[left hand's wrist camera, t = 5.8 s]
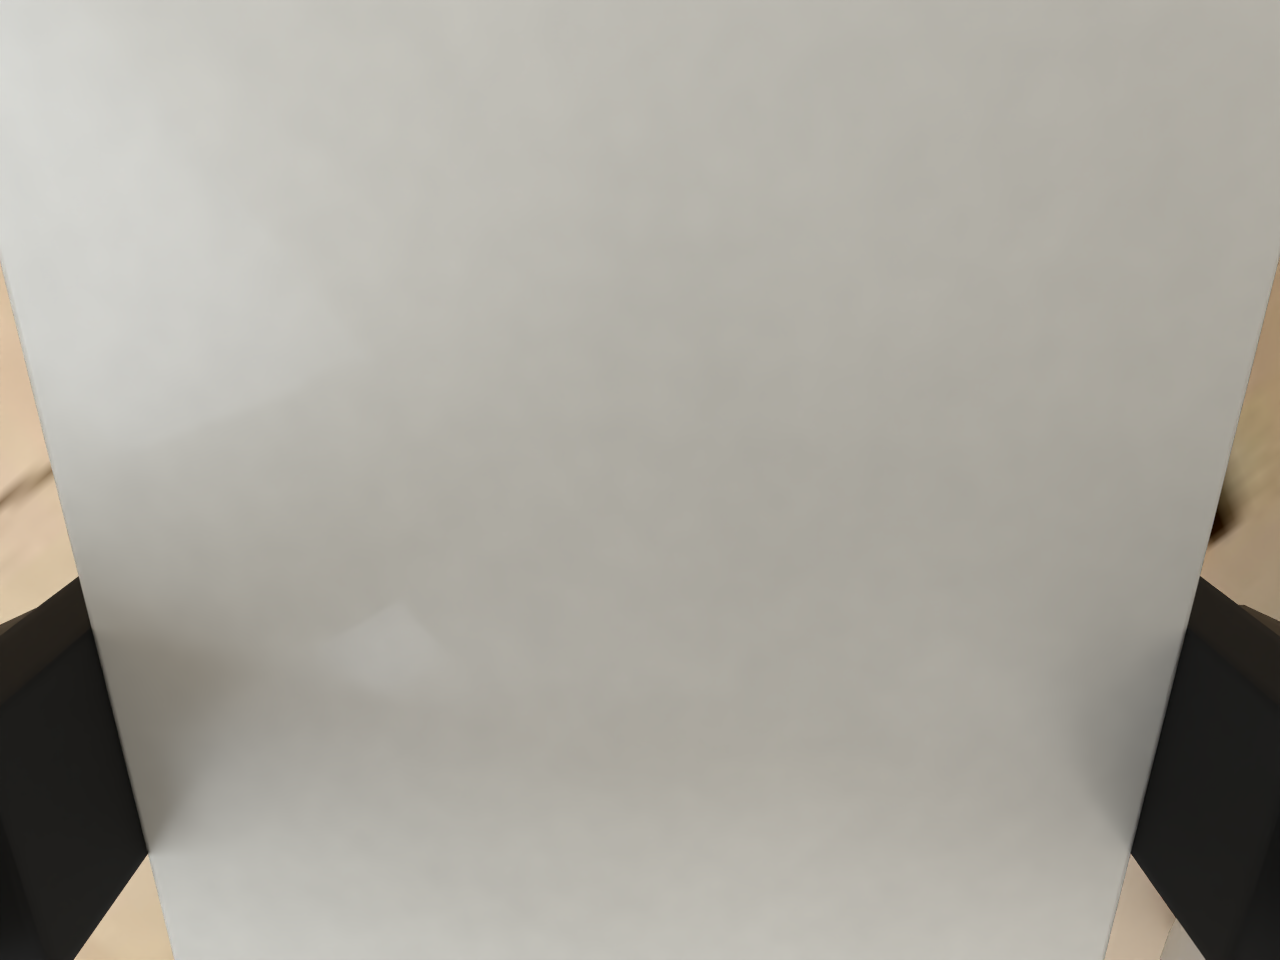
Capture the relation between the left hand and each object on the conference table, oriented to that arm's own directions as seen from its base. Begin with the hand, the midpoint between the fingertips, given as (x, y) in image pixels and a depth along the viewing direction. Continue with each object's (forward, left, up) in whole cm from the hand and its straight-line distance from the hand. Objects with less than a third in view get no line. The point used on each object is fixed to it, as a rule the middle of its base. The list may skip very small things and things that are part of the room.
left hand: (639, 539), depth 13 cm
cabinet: (+5, 0, -6) cm, 8 cm away
